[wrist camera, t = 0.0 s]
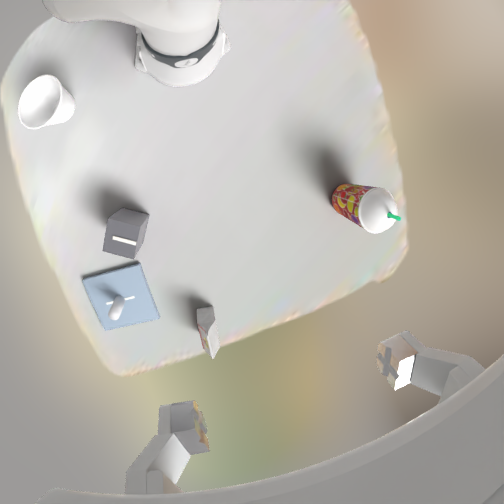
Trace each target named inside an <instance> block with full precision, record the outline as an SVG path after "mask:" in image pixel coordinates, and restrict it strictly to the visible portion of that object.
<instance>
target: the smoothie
mask: <svg viewBox="0 0 504 504" xmlns="http://www.w3.org/2000/svg"><path fill="white" fill-rule="evenodd" d="M332 204H333V207H334V209H335V210H336V211H337V212H338V213H339V214H341V215H343V216H344V217H346V218H348V219H349V220H351V221H352V222H354V223H356V224H357V225H359V226H360V227H362V228H364V229H365V230H366V231H368V232H370V233H376V234H377V233H380V232H383V231H385V230H387V229H388V228H390V227H391V226H392V225H393V224H394V222H395V220H398V221H400V220H401V217H399V216H397V213H398V210H397V205H396V202H395V200H394V197H393V196H392V194H391V193H390V192H389V191H388V190H386V189H385V188H380V187H370V186H362V185H353V184H342V185H340V186H339V187H337V188H336V190H335V191H334V192H333V195H332Z"/></svg>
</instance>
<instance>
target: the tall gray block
mask: <svg viewBox="0 0 504 504" xmlns="http://www.w3.org/2000/svg"><path fill="white" fill-rule="evenodd" d="M148 219H149V214H145V213H141V212H137V211H133V210H129V209H126V208H121V209H120V210H119V211H117V212H116V213H115V214H113V215H112V216H111V217H109V218H108V222H107V228H106V233H105V239H104V245H103V251H104V252H108V253H112V254H115V255H119V256H123V257H127V258H130V259H134V258H135V256H136V254H137V252H138V251H139V249H140V247H141V245H142V244H143V241H144V236H145V232H146V228H147V223H148Z"/></svg>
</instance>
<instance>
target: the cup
mask: <svg viewBox="0 0 504 504" xmlns="http://www.w3.org/2000/svg"><path fill="white" fill-rule="evenodd" d="M75 106H76V105H75V100H74V98H73V97H72V95H71V94H70V93H69V92H68V91H67V90H66V89H65V88H64V87H63V86H62V85H61V83H60V81H59V80H58V79H57V78H56V77H55V76H53V75H41V76H39V77H37V78H35V79H34V80H32V81H31V82H30V83H29V84H28V85H27V86H26V88H25V89H24V91H23V92H22V95H21V97H20V100H19V104H18V116H19V119H20V122H21V123H22V124H23V125H24V126H25V127H26V128H29V129H38V128H41V127H43V126H47V125H53V124H58V123H63V122H65V121H67V120H68V119H70V117H71V116H72V115H73V113H74V111H75Z"/></svg>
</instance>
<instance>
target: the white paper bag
mask: <svg viewBox="0 0 504 504" xmlns="http://www.w3.org/2000/svg"><path fill="white" fill-rule="evenodd" d="M197 324H198V328H199V333H200V337H201V341H202V345H203V349H204V350H205V351H206V352H207V353H208V354H209V355H210V356H211V358H212V357H213V358H214V357H215V354H216V353H217V351H218V349H219V348H220V341H219V335H218V329H217V324H216V319H215V314H214V308H213V306H211V307H205V308H199V309H197Z"/></svg>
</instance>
